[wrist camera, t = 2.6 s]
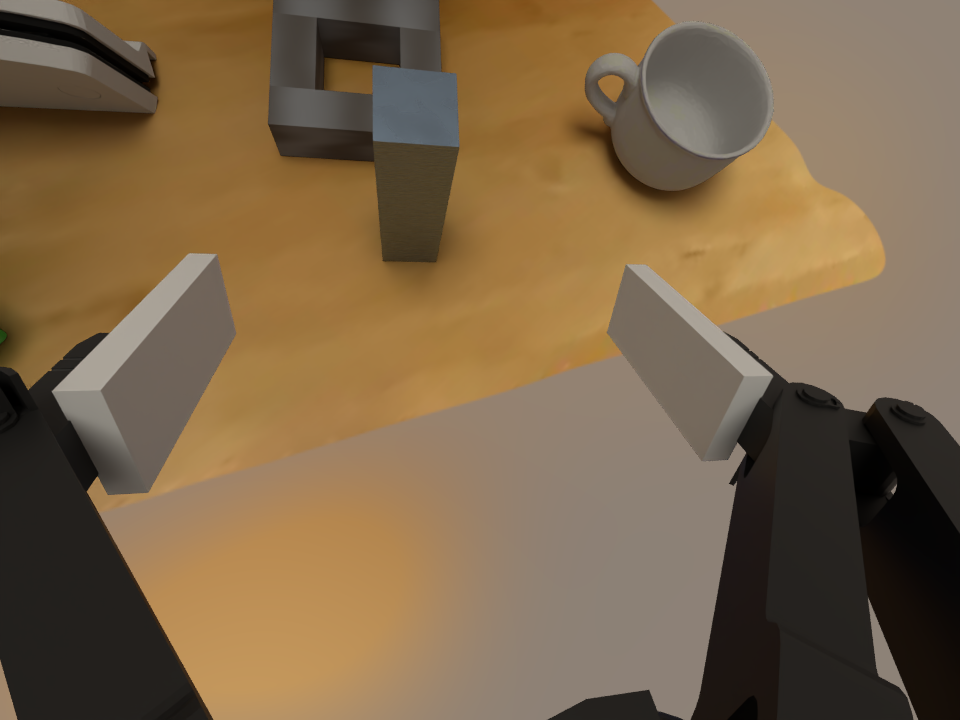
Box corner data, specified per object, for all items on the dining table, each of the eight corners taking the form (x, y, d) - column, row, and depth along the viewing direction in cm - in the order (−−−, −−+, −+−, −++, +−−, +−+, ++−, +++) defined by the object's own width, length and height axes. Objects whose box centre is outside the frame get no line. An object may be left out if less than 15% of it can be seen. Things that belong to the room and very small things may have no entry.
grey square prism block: (382, 260, 35) (373, 140, 21) (382, 211, 35) (372, 65, 22) (435, 262, 35) (459, 146, 22) (434, 214, 36) (456, 73, 22)
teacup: (719, 131, 43) (791, 61, 35) (690, 229, 40) (760, 176, 32) (585, 64, 41) (627, -24, 34) (545, 161, 39) (582, 89, 31)
